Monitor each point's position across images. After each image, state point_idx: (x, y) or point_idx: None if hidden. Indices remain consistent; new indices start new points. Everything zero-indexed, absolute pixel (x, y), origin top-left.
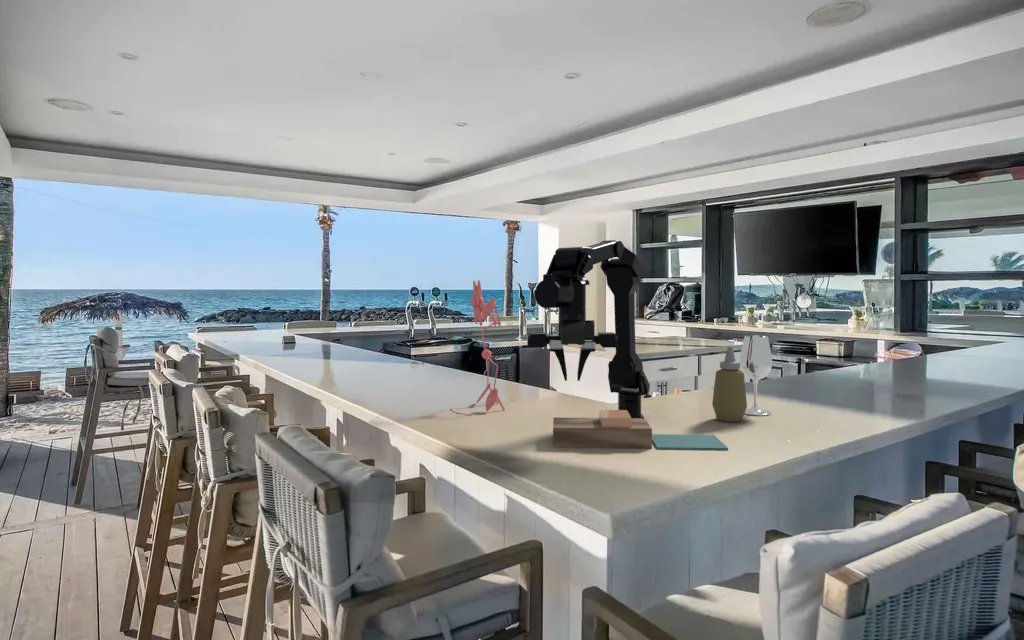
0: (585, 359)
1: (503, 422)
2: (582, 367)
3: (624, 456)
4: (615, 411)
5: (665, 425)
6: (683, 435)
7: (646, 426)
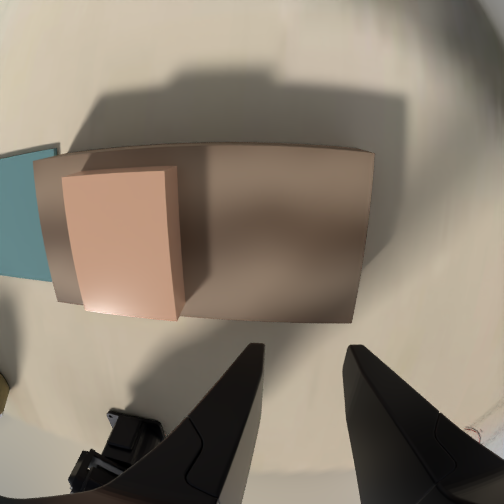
0: (148, 468)
1: (430, 398)
2: (207, 407)
3: (140, 57)
4: (117, 290)
5: (62, 367)
6: (14, 269)
7: (44, 191)
